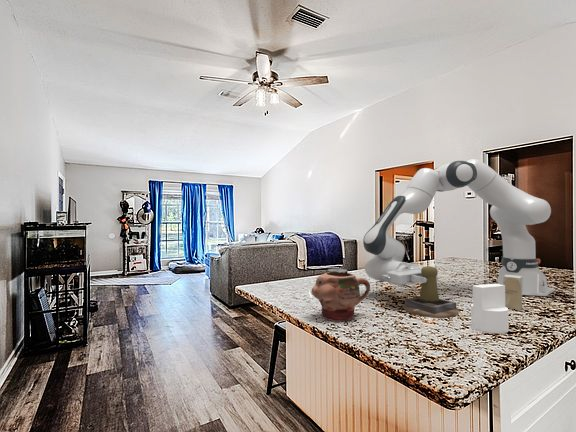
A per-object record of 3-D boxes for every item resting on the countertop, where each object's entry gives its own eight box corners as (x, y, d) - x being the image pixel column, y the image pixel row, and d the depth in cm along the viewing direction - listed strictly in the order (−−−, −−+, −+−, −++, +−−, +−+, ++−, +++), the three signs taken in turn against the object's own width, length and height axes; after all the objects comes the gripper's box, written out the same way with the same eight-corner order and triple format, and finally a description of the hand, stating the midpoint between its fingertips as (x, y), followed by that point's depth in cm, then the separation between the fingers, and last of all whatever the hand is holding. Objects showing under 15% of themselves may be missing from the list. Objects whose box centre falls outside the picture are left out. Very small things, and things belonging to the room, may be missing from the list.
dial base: (425, 301, 121) (425, 293, 121) (469, 312, 106) (469, 303, 106) (393, 307, 112) (393, 299, 112) (436, 321, 98) (436, 311, 98)
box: (502, 307, 111) (502, 275, 111) (504, 305, 114) (504, 274, 114) (521, 310, 107) (520, 277, 107) (523, 308, 110) (522, 275, 110)
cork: (441, 301, 106) (441, 268, 106) (422, 301, 107) (422, 267, 107) (436, 297, 112) (436, 265, 112) (418, 296, 113) (417, 265, 113)
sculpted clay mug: (358, 308, 112) (358, 268, 112) (379, 318, 101) (379, 274, 101) (305, 314, 106) (305, 272, 106) (322, 326, 94) (321, 278, 94)
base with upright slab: (491, 335, 86) (490, 290, 86) (463, 324, 94) (463, 283, 94) (516, 331, 88) (516, 287, 88) (487, 321, 97) (487, 281, 97)
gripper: (379, 267, 115) (410, 272, 103) (417, 262, 125) (450, 267, 113) (379, 284, 115) (410, 292, 103) (417, 279, 125) (450, 285, 113)
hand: (431, 279), depth 108 cm, fingers closed on cork, 4 cm apart
